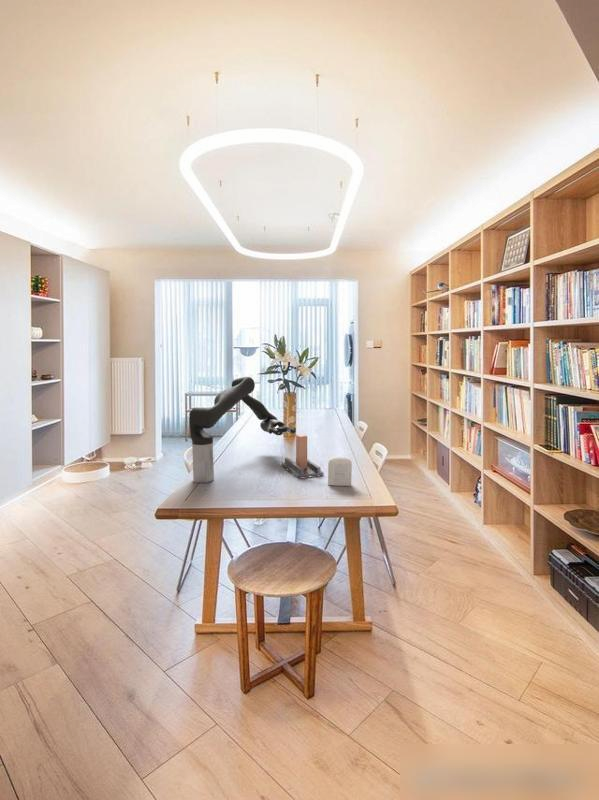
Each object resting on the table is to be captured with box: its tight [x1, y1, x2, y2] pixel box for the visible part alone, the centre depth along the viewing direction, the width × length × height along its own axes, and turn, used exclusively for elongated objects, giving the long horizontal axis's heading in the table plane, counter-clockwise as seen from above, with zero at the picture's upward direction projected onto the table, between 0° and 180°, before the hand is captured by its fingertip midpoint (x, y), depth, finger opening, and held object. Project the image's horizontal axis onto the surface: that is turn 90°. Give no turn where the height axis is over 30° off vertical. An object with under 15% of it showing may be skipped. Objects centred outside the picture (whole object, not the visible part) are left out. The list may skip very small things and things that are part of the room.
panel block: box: [295, 433, 308, 469], centre depth 204 cm, size 4×5×16 cm
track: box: [281, 456, 324, 479], centre depth 205 cm, size 24×13×4 cm, turn 20°
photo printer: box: [327, 456, 353, 487], centre depth 182 cm, size 10×4×12 cm, turn 85°
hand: (285, 432), depth 213 cm, fingers open, 8 cm apart
